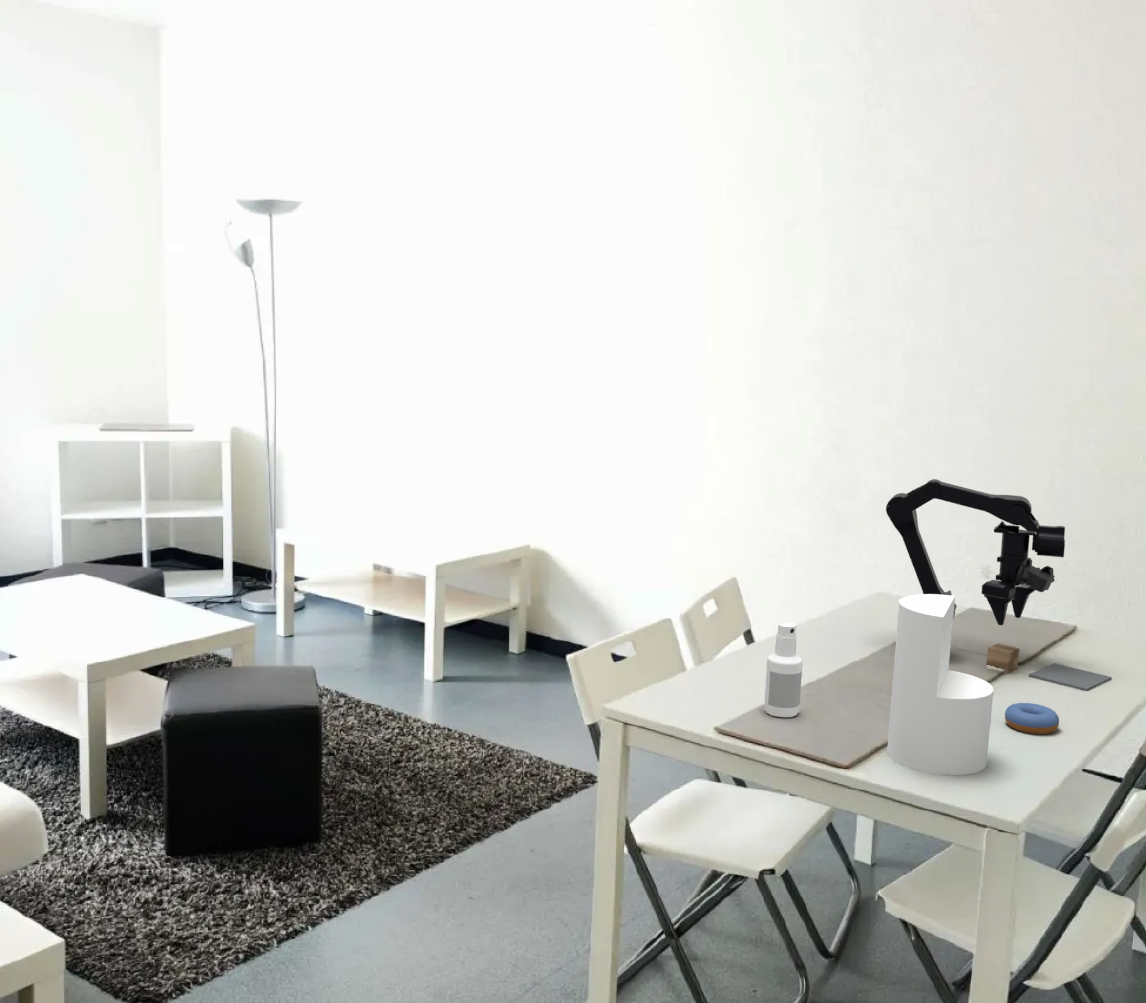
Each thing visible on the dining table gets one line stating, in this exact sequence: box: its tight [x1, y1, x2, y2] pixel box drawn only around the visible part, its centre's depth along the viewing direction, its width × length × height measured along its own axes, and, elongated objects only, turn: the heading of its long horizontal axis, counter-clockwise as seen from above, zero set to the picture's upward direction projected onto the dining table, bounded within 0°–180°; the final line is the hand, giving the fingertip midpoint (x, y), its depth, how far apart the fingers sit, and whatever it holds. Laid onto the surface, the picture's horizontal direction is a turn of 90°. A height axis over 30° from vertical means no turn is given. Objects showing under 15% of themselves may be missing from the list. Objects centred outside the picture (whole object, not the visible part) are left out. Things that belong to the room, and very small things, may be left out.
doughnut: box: [1004, 702, 1060, 735], centre depth 235 cm, size 10×10×5 cm
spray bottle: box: [763, 622, 804, 715], centre depth 237 cm, size 7×7×18 cm
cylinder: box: [886, 593, 994, 776], centre depth 216 cm, size 17×17×28 cm
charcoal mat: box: [1028, 662, 1113, 692], centre depth 268 cm, size 13×13×1 cm
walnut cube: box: [986, 643, 1020, 674], centre depth 273 cm, size 5×5×5 cm
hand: (1009, 621), depth 272 cm, fingers open, 9 cm apart
